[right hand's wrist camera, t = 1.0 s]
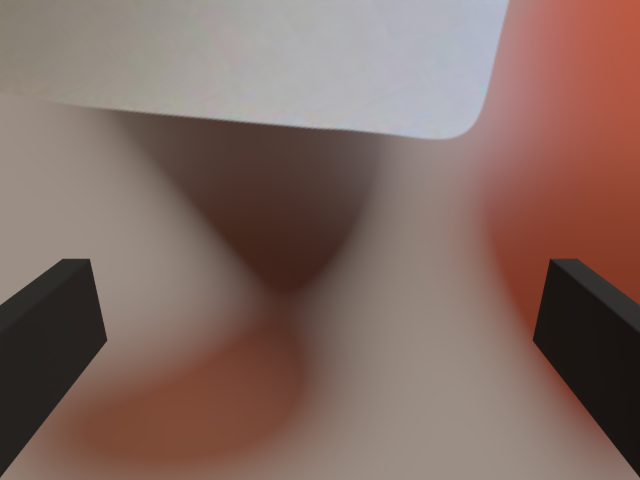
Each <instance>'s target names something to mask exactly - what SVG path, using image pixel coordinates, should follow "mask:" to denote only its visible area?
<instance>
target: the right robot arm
mask: <svg viewBox="0 0 640 480" xmlns="http://www.w3.org/2000/svg"><path fill="white" fill-rule="evenodd" d="M106 341H107V337H106V332H105V327H104V323H103V318H102V314H101V309H100V304H99V300H98V295H97V290H96V286H95V281H94V276H93V272H92V267H91V262H90V259H62V260H61V261H59V262H58V263H57V264H55V265H54V266H53V267H51V268H50V269H49V270H47V271H46V272H44V273H43V274H42V275H40V276H39V277H38V278H36V279H35V280H34V281H32V282H31V283H30V284H28V285H27V286H26V287H24V288H23V289H22V290H20V291H19V292H18V293H16V294H15V295H13V296H12V297H11V298H9V299H8V300H7V301H5V302H4V303H3V304H1V305H0V477H1V476H2V475H3V473H4V472H5V471H6V470H7V468H8V467H9V466H10V464H11V463H12V462H13V461H14V459H15V458H16V457H17V455H18V454H19V453H20V452H21V450H22V449H23V448H24V447H25V445H26V444H27V443H28V441H29V440H30V439H31V437H32V436H33V435H34V434H35V432H36V431H37V430H38V429H39V427H40V426H41V425H42V423H43V422H44V421H45V420H46V418H47V417H48V416H49V414H50V413H51V412H52V411H53V409H54V408H55V407H56V405H57V404H58V403H59V402H60V400H61V399H62V398H63V397H64V395H65V394H66V393H67V391H68V390H69V389H70V388H71V386H72V385H73V384H74V382H75V381H76V380H77V379H78V377H79V376H80V375H81V374H82V372H83V371H84V370H85V368H86V367H87V366H88V364H89V363H90V362H91V361H92V359H93V358H94V357H95V356H96V354H97V353H98V352H99V350H100V349H101V348H102V347H103V345H104V344H105V343H106ZM533 341H534V343H535V344H536V345H537V347H538V348H539V349H540V350H541V352H542V353H543V354H544V356H545V357H546V358H547V359H548V361H549V362H550V363H551V365H552V366H553V367H554V368H555V370H556V371H557V372H558V374H559V375H560V376H561V377H562V379H563V380H564V381H565V382H566V384H567V385H568V386H569V387H570V389H571V390H572V391H573V393H574V394H575V395H576V397H577V398H578V399H579V400H580V402H581V403H582V404H583V405H584V407H585V408H586V409H587V411H588V412H589V413H590V414H591V416H592V417H593V418H594V420H595V421H596V422H597V423H598V425H599V426H600V427H601V428H602V430H603V431H604V432H605V434H606V435H607V436H608V437H609V439H610V440H611V441H612V443H613V444H614V445H615V447H616V448H617V449H618V450H619V452H620V453H621V454H622V455H623V457H624V458H625V459H626V461H627V462H628V463H629V464H630V466H631V467H632V468H633V470H634V471H635V472H636V473H637V475H638V476H639V477H640V305H639V304H637V303H636V302H635V301H633V300H632V299H631V298H629V297H628V296H626V295H625V294H624V293H622V292H621V291H620V290H618V289H617V288H616V287H614V286H613V285H612V284H610V283H609V282H608V281H606V280H605V279H604V278H602V277H601V276H600V275H598V274H597V273H595V272H594V271H593V270H591V269H590V268H589V267H587V266H586V265H585V264H583V263H582V262H581V261H579V260H578V259H550V262H549V267H548V272H547V276H546V281H545V286H544V290H543V295H542V300H541V304H540V309H539V314H538V318H537V323H536V328H535V332H534V337H533Z"/></svg>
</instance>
